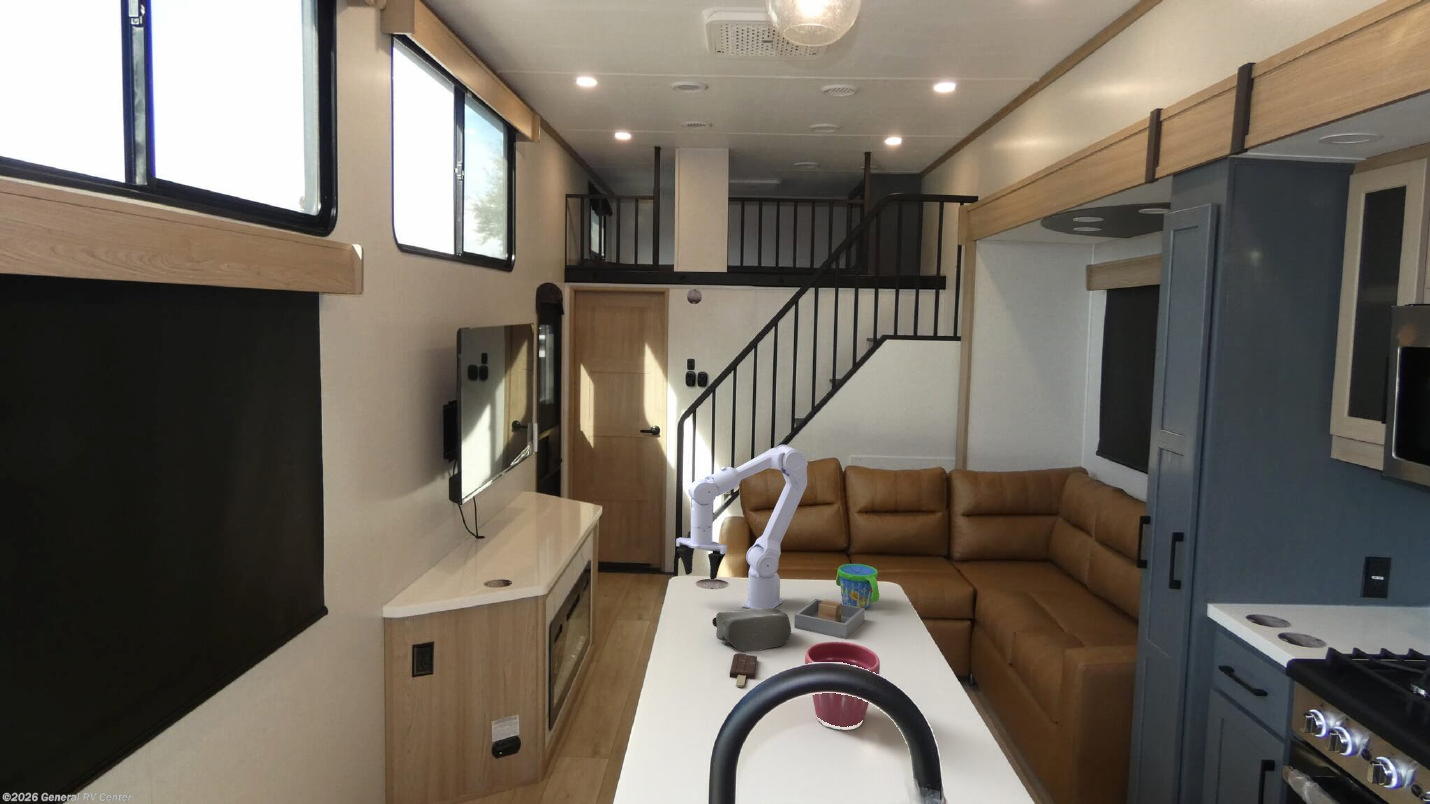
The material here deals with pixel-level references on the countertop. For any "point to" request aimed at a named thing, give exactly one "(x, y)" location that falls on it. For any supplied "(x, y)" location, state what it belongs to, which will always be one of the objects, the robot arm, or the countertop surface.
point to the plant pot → (840, 706)
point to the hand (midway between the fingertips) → (701, 576)
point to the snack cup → (858, 584)
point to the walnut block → (830, 610)
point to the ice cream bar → (743, 668)
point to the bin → (811, 622)
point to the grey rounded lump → (753, 628)
